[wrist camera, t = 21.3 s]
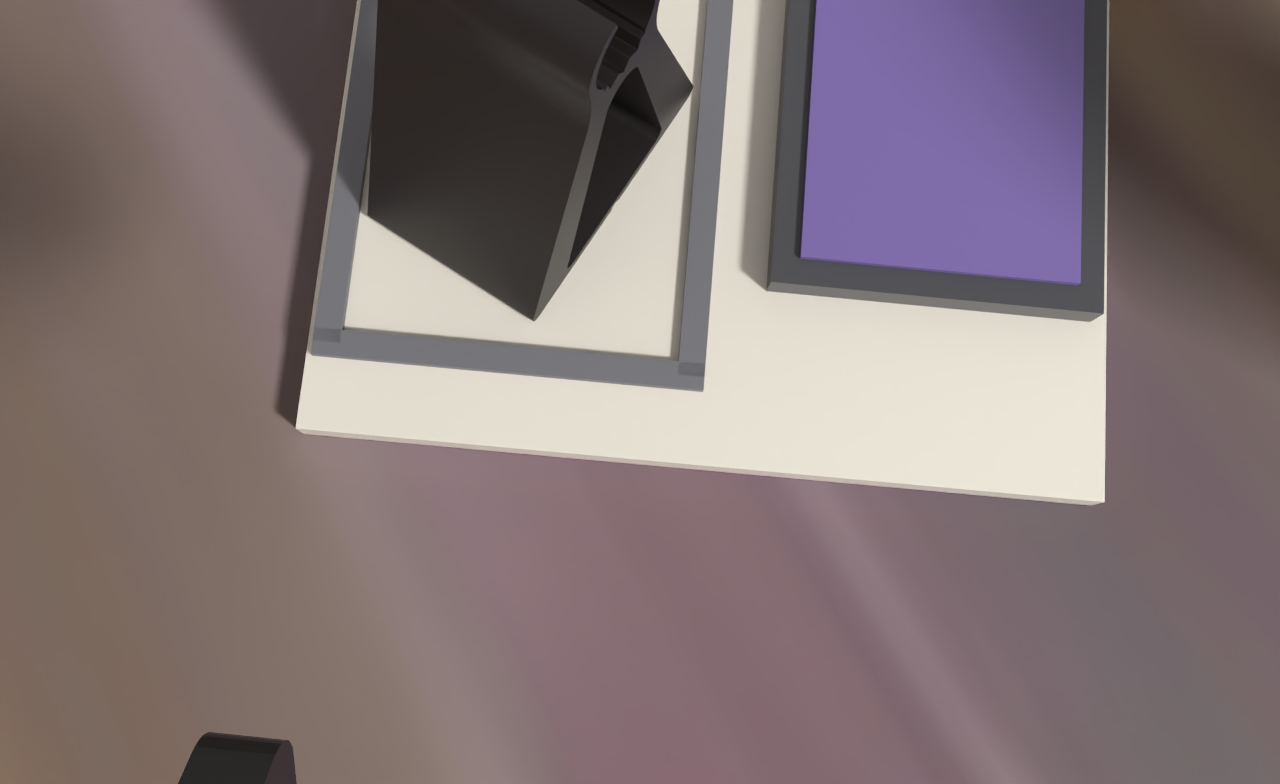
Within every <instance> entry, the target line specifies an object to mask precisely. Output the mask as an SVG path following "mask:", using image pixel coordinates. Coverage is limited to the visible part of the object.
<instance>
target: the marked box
mask: <svg viewBox="0 0 1280 784" xmlns="http://www.w3.org/2000/svg"><path fill="white" fill-rule="evenodd" d="M377 7H378V0H361V4H360V11H359V18H358V25H357V32H356V39H355V46H354V53H353V60H352V67H351V74H350V81H349V88H348V95H347V102H346V109H345V116H344V123H343V130H342V137H341V144H340V151H339V158H338V165H337V172H336V179H335V186H334V193H333V200H332V207H331V214H330V221H329V228H328V235H327V242H326V249H325V256H324V263H323V270H322V277H321V284H320V291H319V298H318V305H317V312H316V319H315V326H314V333H313V340H312V347H311V355H312V356H320V357H331V358H341V359H352V360H363V361H374V362H385V363H395V364H406V365H417V366H428V367H438V368H449V369H460V370H471V371H482V372H492V373H503V374H514V375H525V376H535V377H546V378H557V379H568V380H579V381H589V382H600V383H611V384H622V385H632V386H643V387H654V388H665V389H676V390H686V391H697V392H703V390H704V377H705V364H706V351H707V338H708V325H709V312H710V299H711V286H712V273H713V260H714V247H715V234H716V221H717V208H718V195H719V182H720V169H721V156H722V143H723V130H724V117H725V104H726V91H727V78H728V65H729V51H730V38H731V25H732V12H733V0H708V1H707V13H706V26H705V38H704V50H703V62H702V75H701V87H700V99H699V112H698V124H697V136H696V149H695V161H694V173H693V185H692V198H691V210H690V222H689V235H688V247H687V259H686V272H685V284H684V296H683V308H682V321H681V333H680V345H679V358H678V361H671V360H660V359H649V358H638V357H628V356H617V355H606V354H596V353H585V352H574V351H563V350H553V349H542V348H531V347H521V346H510V345H499V344H489V343H478V342H467V341H456V340H446V339H435V338H424V337H414V336H403V335H392V334H382V333H371V332H360V331H349V330H344V325H345V318H346V311H347V303H348V296H349V289H350V282H351V274H352V267H353V260H354V253H355V245H356V238H357V231H358V224H359V216H360V209H361V202H362V195H363V187H364V180H365V173H366V166H367V159H368V151H369V144H370V137H371V130H372V110H373V89H374V69H375V48H376V28H377Z"/></svg>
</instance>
